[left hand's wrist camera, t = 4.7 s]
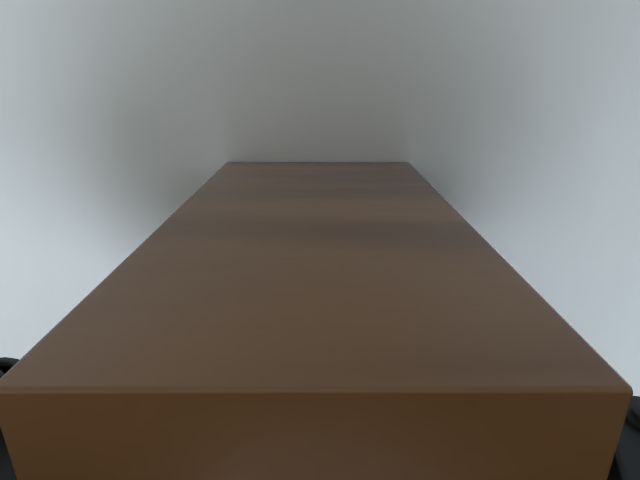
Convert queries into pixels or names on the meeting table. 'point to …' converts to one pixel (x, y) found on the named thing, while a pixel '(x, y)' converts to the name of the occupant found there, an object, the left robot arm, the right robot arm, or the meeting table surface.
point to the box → (313, 348)
